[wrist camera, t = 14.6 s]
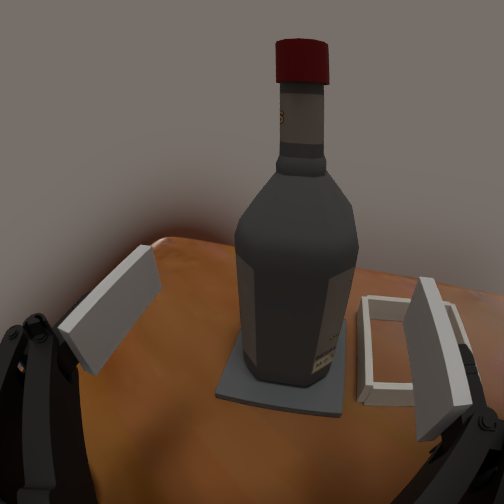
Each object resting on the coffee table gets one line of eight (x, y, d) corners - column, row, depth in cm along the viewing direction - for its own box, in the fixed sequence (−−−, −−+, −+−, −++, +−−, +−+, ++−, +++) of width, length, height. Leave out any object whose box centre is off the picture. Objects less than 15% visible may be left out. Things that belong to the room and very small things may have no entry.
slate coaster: (344, 324, 35) (346, 318, 35) (339, 417, 24) (341, 413, 23) (249, 312, 38) (249, 306, 38) (215, 397, 27) (214, 392, 26)
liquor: (239, 378, 28) (213, 34, 12) (259, 321, 35) (253, 54, 20) (325, 392, 26) (378, 34, 10) (331, 330, 33) (360, 58, 18)
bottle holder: (445, 320, 33) (453, 302, 32) (467, 402, 21) (482, 385, 20) (356, 313, 37) (361, 294, 35) (356, 405, 25) (365, 388, 23)
